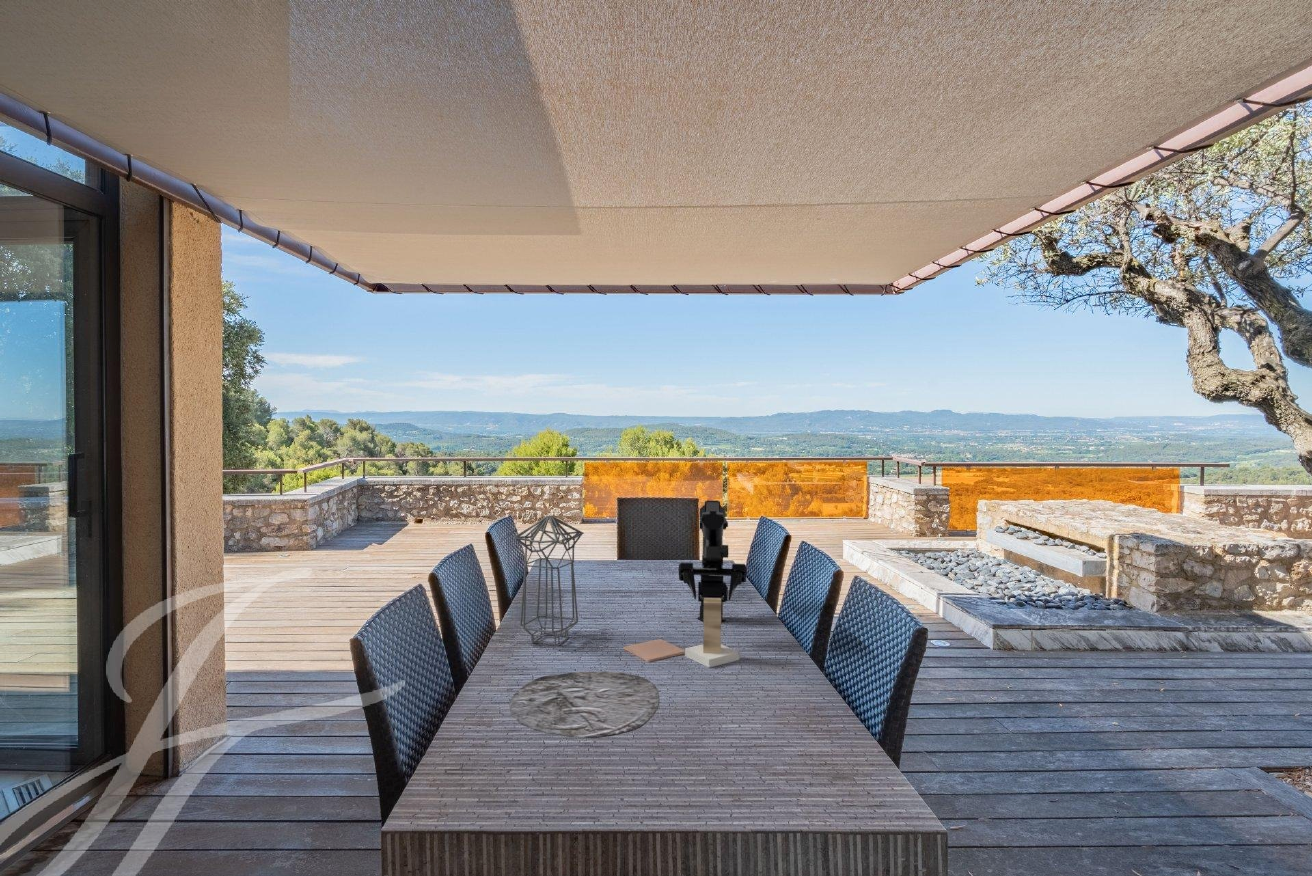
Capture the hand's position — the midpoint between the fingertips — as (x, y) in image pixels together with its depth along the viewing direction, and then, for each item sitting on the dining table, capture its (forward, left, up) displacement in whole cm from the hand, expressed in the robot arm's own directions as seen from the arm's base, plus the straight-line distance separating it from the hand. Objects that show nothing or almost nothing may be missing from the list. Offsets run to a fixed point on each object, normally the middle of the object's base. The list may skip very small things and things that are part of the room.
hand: (712, 599), depth 184 cm
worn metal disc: (+45, +12, -14) cm, 48 cm away
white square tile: (+5, +6, -13) cm, 15 cm away
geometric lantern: (+34, -30, -14) cm, 47 cm away
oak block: (+5, +6, -11) cm, 14 cm away
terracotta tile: (+14, -7, -13) cm, 21 cm away
